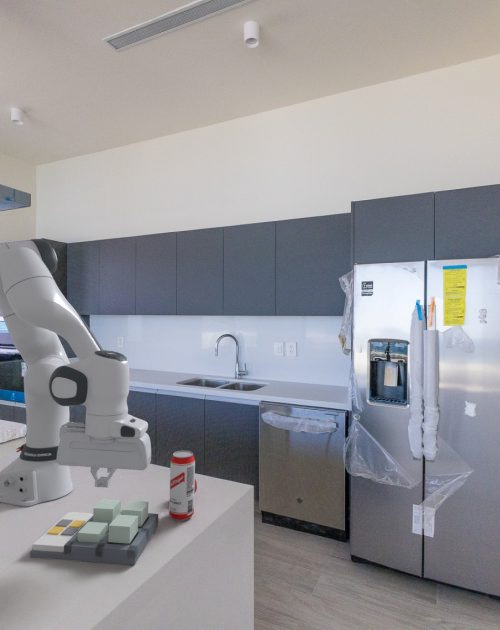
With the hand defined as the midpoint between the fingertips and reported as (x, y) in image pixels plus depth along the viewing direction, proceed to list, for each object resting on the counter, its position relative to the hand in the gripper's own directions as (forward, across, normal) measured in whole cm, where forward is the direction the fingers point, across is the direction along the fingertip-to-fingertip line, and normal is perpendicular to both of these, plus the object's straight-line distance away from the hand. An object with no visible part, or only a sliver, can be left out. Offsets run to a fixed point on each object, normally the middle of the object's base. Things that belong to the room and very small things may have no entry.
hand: (102, 486), depth 87 cm
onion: (+13, +15, +23) cm, 30 cm away
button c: (+10, +6, -2) cm, 12 cm away
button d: (+10, +6, +5) cm, 12 cm away
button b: (+10, 0, +5) cm, 11 cm away
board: (+13, -1, +2) cm, 13 cm away
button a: (+12, -1, -2) cm, 12 cm away
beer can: (+13, +16, +14) cm, 24 cm away
